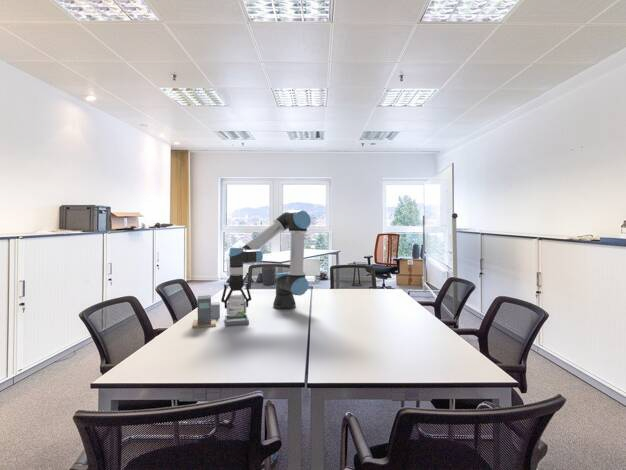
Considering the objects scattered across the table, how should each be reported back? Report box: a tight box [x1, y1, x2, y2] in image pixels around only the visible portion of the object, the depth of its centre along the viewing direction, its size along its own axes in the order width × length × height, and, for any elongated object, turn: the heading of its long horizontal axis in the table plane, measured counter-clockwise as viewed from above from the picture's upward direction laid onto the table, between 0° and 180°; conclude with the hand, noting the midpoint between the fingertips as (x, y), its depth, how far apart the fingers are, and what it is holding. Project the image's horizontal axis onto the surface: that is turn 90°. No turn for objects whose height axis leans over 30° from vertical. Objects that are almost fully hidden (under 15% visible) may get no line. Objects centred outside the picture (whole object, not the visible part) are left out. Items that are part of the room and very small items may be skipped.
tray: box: [224, 313, 250, 327], centre depth 194 cm, size 12×13×2 cm
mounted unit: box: [192, 295, 217, 329], centre depth 190 cm, size 12×12×15 cm
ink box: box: [227, 293, 246, 316], centre depth 194 cm, size 9×5×12 cm, turn 86°
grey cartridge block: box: [211, 301, 221, 319], centre depth 205 cm, size 5×6×8 cm
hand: (236, 313), depth 194 cm, fingers closed on ink box, 9 cm apart
